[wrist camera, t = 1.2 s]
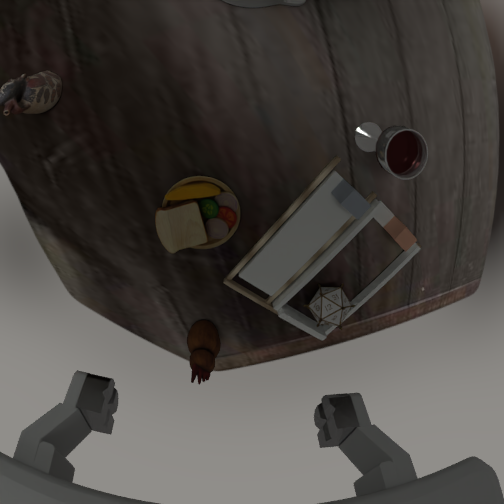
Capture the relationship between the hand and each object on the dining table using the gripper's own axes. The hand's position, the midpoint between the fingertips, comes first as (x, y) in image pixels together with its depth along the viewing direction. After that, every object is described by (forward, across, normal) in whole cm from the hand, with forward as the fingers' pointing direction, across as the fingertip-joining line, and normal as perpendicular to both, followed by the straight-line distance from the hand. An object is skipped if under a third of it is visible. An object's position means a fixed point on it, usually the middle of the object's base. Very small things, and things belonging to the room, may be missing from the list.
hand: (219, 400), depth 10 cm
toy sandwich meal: (+39, +4, +10) cm, 40 cm away
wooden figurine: (+39, 0, +34) cm, 52 cm away
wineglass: (+38, -21, -8) cm, 44 cm away
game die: (+39, -22, +22) cm, 50 cm away
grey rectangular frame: (+38, -25, +17) cm, 49 cm away
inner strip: (+38, -14, +11) cm, 42 cm away
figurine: (+38, +32, -10) cm, 51 cm away
